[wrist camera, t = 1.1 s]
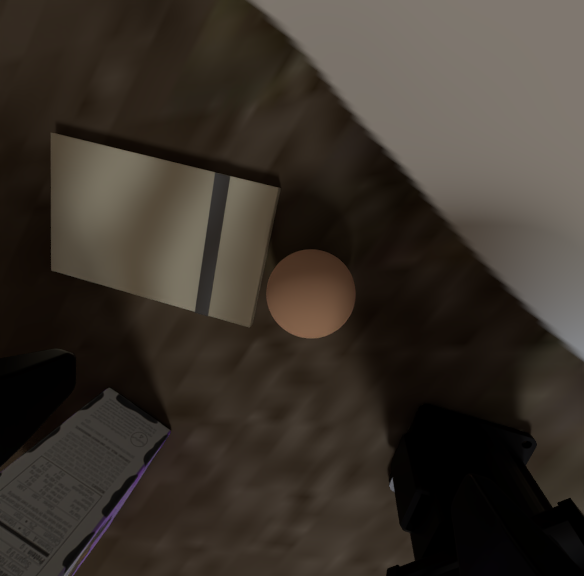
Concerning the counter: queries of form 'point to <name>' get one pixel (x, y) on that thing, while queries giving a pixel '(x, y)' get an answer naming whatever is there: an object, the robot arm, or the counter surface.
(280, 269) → the ball
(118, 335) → the counter surface
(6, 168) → the counter surface
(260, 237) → the board
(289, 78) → the counter surface
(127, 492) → the candy box
